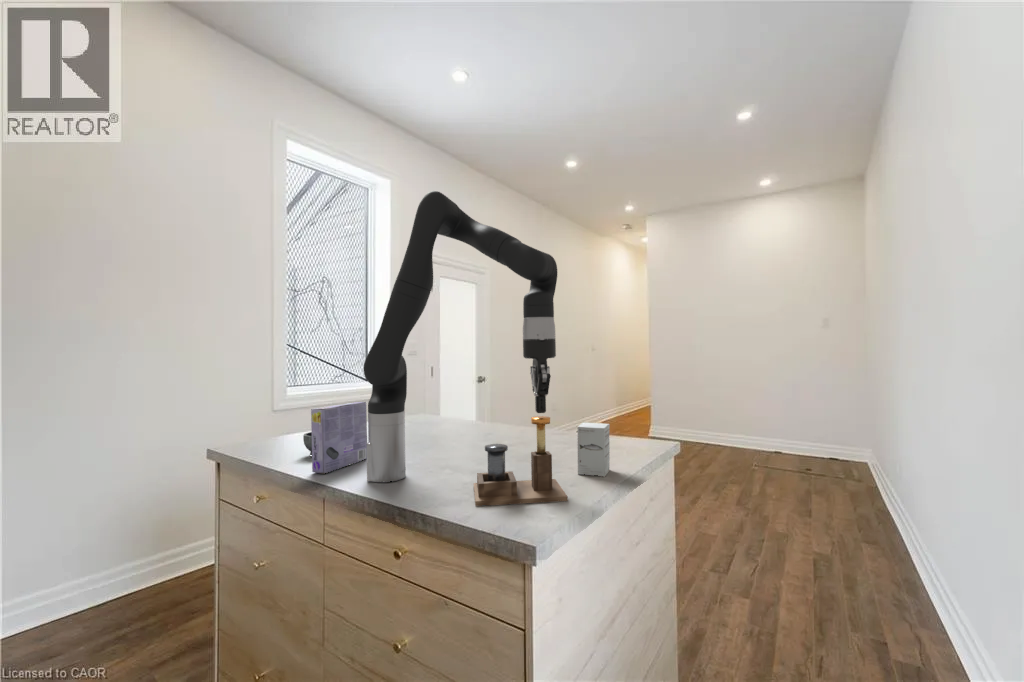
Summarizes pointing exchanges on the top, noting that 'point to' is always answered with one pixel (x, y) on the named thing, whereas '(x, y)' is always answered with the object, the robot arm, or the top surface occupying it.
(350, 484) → the top surface
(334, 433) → the cake pan box
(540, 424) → the lock pin
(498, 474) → the spigot
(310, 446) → the mortar and pestle
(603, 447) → the supplement box
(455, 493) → the top surface
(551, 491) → the dock mount
